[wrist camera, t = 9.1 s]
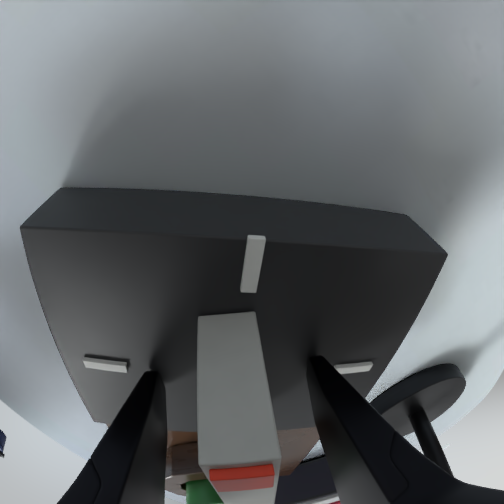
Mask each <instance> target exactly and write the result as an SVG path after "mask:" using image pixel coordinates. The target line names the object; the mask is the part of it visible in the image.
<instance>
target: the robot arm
mask: <svg viewBox="0 0 504 504" xmlns="http://www.w3.org/2000/svg"><path fill="white" fill-rule="evenodd" d="M306 379H307V384H308V389H309V395H310V400H311V406H312V411H313V416H314V421H315V425H316V428H317V431H318V434H319V437H320V440H321V443H322V447H323V450H324V453H325V456H326V459H327V462H328V465H329V468H330V472H331V475H332V478H333V481H334V484H335V487H336V490H337V494H338V497H339V500H340V503H341V504H504V491H502V490H497V489H490V488H486V487H480V486H475V485H471V484H467V483H464V482H462V481H460V480H458V479H456V478H454V477H453V476H451V475H450V474H449V473H447V472H446V471H444V470H443V469H442V468H440V467H439V466H438V465H436V464H435V463H434V462H432V461H431V460H430V459H428V458H427V457H426V456H424V455H423V454H422V453H421V452H419V451H418V450H417V449H416V448H414V447H413V446H412V445H411V444H410V443H409V442H408V441H407V440H406V439H405V438H404V437H403V436H402V435H401V434H400V433H399V432H398V431H395V429H394V428H393V427H392V426H391V425H390V424H389V423H388V422H387V421H386V420H385V419H384V418H383V417H382V416H381V415H380V414H379V413H378V412H377V411H376V409H375V408H374V407H373V406H372V405H371V404H370V403H369V402H368V401H367V400H366V399H365V398H364V397H363V396H362V395H361V394H360V393H359V392H358V391H357V390H356V389H355V388H354V387H353V386H352V385H351V384H350V383H349V382H348V381H347V380H346V379H345V378H344V377H343V376H342V375H341V374H340V373H339V372H338V371H337V370H336V369H335V368H334V367H333V366H332V365H331V364H330V363H329V362H328V361H327V360H326V358H325V357H323V356H322V355H318V356H312V357H309V359H308V364H307V370H306ZM167 438H168V431H167V409H166V389H165V385H164V383H163V380H162V378H161V376H160V374H159V372H158V371H146V372H144V373H143V375H142V376H141V378H140V380H139V381H138V383H137V384H136V386H135V387H134V389H133V390H132V392H131V393H130V395H129V397H128V398H127V400H126V401H125V403H124V404H123V406H122V408H121V409H120V411H119V412H118V414H117V415H116V417H115V419H114V420H113V422H112V423H111V425H110V426H109V428H108V430H107V431H106V433H105V434H104V436H103V438H102V439H101V441H100V442H99V444H98V446H97V447H96V449H95V450H94V452H93V454H92V455H91V459H89V460H88V462H87V463H86V465H85V467H84V468H83V470H82V471H81V473H80V474H79V476H78V477H77V479H76V480H75V481H74V483H73V484H72V485H71V487H70V488H69V489H68V491H67V492H66V493H65V494H64V496H63V497H62V498H61V499H60V501H59V502H58V503H57V504H164V498H165V473H166V455H167ZM0 457H4V454H3V453H2V452H1V451H0Z"/></svg>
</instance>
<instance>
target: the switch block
mask: <svg viewBox="0 0 504 504" xmlns="http://www.w3.org/2000/svg"><path fill="white" fill-rule="evenodd" d="M110 425H111V424H107V426H108V428H109V426H110ZM277 435H278V440H279V445H280V451H281V456H282V458H281V465H280V471H279V476H287V475H290V474H291V473H292V472H293V471H294V470H295V468H296V467H297V466H298V465H299V464H300V463H301V461H302V460H303V459H304V458H305V456H306V455H307V454H308V453H309V452H310V450H311V449H312V448H313V447H314V445H315V444H316V443H317V441H318V440H319V439H320V437H319V434H318V431H317V428H316V427H309V428H300V429H289V430H277ZM202 479H208V478H207V477H206V475H205V474H204V472H203V471H202V469H201V467H200V466H199V464H198V432H183V431H168V438H167V455H166V473H165V490H167V491H169V492H172V493H175V494H178V495H183V496H186V482H188V481H193V480H202ZM278 480H279V479H278Z"/></svg>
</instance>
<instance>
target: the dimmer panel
mask: <svg viewBox="0 0 504 504" xmlns="http://www.w3.org/2000/svg"><path fill="white" fill-rule="evenodd" d="M20 230H21V235H22V240H23V244H24V248H25V252H26V256H27V260H28V264H29V267H30V271H31V274H32V278H33V281H34V284H35V288H36V291H37V294H38V297H39V300H40V303H41V306H42V309H43V312H44V315H45V317H46V320H47V323H48V325H49V328H50V331H51V333H52V336H53V338H54V341H55V343H56V346H57V348H58V350H59V353H60V355H61V357H62V359H63V362H64V364H65V366H66V368H67V370H68V373H69V375H70V377H71V379H72V381H73V383H74V385H75V387H76V389H77V391H78V393H79V395H80V397H81V399H82V401H83V402H84V404H85V406H86V408H87V410H88V412H89V413H90V415H91V417H92V419H93V420H94V422H99V423H106V424H111V423H112V422H113V420H114V419H115V417H116V415H117V414H118V412H119V411H120V409H121V408H122V406H123V404H124V403H125V401H126V400H127V398H128V397H129V395H130V393H131V392H132V390H133V389H134V387H135V386H136V384H137V383H138V381H139V380H140V378H141V376H142V375H143V373H144V372H146V371H158V372H159V374H160V376H161V378H162V380H163V383H164V385H165V389H166V409H167V431H183V432H198V430H197V336H198V317H199V316H207V315H219V314H230V313H241V312H251V311H254V312H255V313H256V318H257V324H258V330H259V335H260V341H261V346H262V352H263V358H264V363H265V369H266V374H267V380H268V385H269V391H270V396H271V402H272V407H273V413H274V418H275V424H276V429H277V430H289V429H300V428H309V427H316V425H315V421H314V416H313V411H312V406H311V400H310V395H309V389H308V384H307V379H306V370H307V364H308V359H309V357H312V356H318V355H322V356H323V357H325V358H326V360H327V361H328V362H329V363H330V364H331V365H332V366H333V367H334V368H335V369H336V370H337V371H338V372H339V373H340V374H341V375H342V376H343V377H344V378H345V379H346V380H347V381H348V382H349V383H350V384H351V385H352V386H353V387H354V388H355V389H356V390H357V391H358V392H359V393H360V394H361V395H362V396H363V397H364V398H365V397H366V396H367V395H368V393H369V392H370V390H371V389H372V388H373V386H374V385H375V383H376V382H377V380H378V379H379V377H380V376H381V374H382V373H383V371H384V370H385V368H386V367H387V365H388V364H389V362H390V361H391V359H392V358H393V356H394V355H395V353H396V351H397V350H398V348H399V347H400V345H401V343H402V342H403V340H404V338H405V337H406V335H407V333H408V332H409V330H410V328H411V326H412V325H413V323H414V321H415V319H416V318H417V316H418V314H419V312H420V310H421V308H422V307H423V305H424V303H425V301H426V299H427V297H428V295H429V293H430V291H431V289H432V287H433V285H434V283H435V281H436V279H437V277H438V275H439V273H440V271H441V269H442V267H443V264H444V262H445V260H446V258H447V256H448V253H447V252H446V251H445V250H444V249H443V248H442V247H441V246H440V245H438V244H437V243H436V242H435V241H434V240H433V239H432V238H431V237H430V236H429V235H428V234H427V233H426V232H425V231H424V230H423V229H422V228H421V227H420V226H418V225H417V224H416V223H415V222H414V221H413V220H412V219H411V218H410V217H409V216H407V215H404V214H397V213H390V212H384V211H377V210H369V209H362V208H355V207H347V206H339V205H331V204H322V203H314V202H305V201H295V200H286V199H275V198H265V197H254V196H242V195H229V194H216V193H201V192H185V191H167V190H144V189H114V188H60V189H59V190H57V191H56V192H55V193H54V194H53V195H52V196H51V197H50V198H49V199H48V200H47V201H45V202H44V203H43V204H42V205H41V206H40V207H39V208H38V209H37V210H36V211H35V212H34V213H33V214H32V215H31V216H30V217H29V218H28V219H27V220H26V221H25V222H24V223H23V224H22V225H21V226H20Z"/></svg>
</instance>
